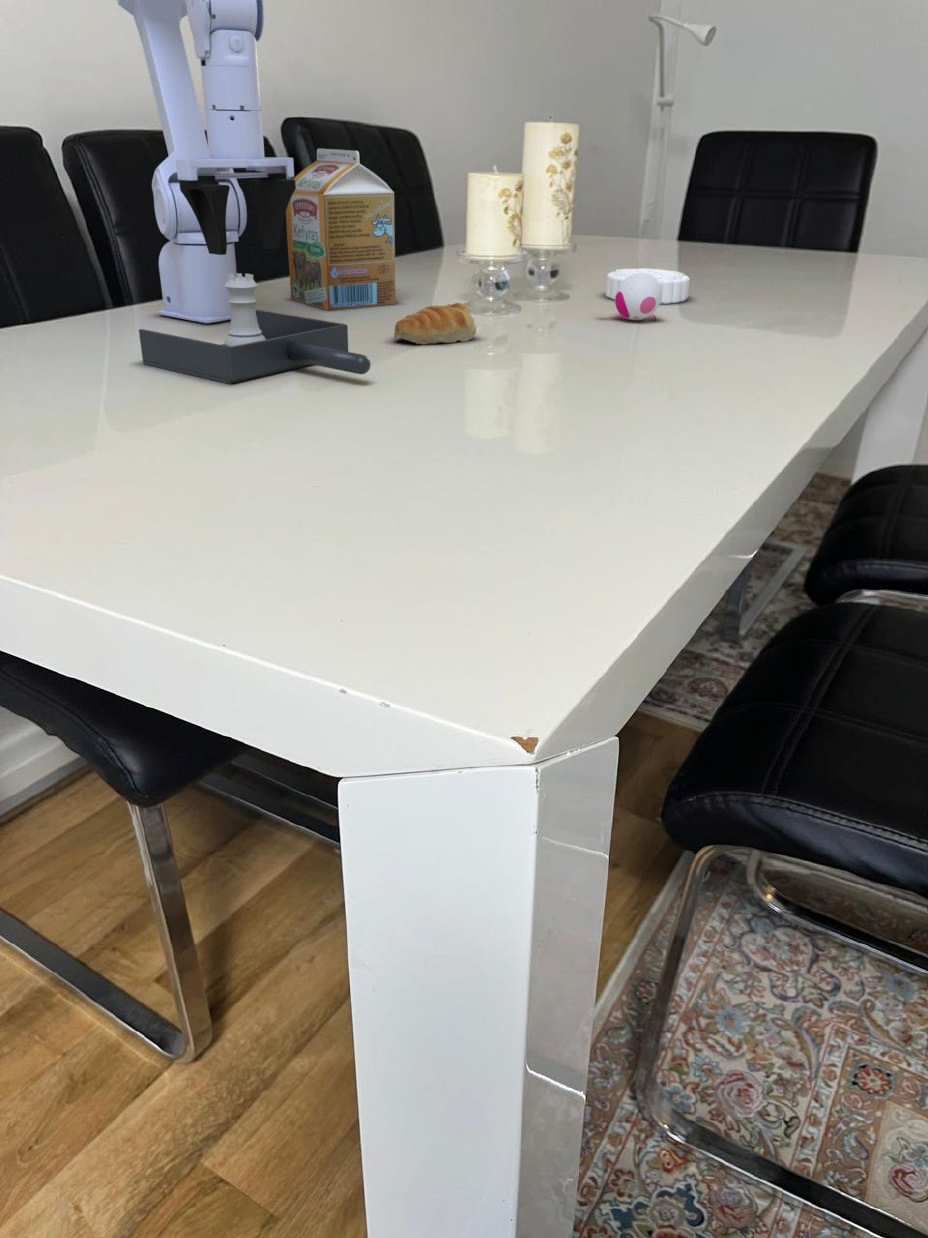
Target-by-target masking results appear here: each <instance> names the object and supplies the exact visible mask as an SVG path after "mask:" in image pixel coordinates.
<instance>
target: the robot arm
mask: <svg viewBox="0 0 928 1238" xmlns="http://www.w3.org/2000/svg"><path fill="white" fill-rule="evenodd" d="M116 1H117V5H118V6H120V7H121V8H122V9H123V10H125V11H126V12H127V13H128V14H130V15H132V17H133V19H134V22H135V26H136V29H137V32H138V35H139V39H140V42H141V45H142V46H141V47H142V49H143V53H144V57H145V58H144V59H145V62H146V66H147V70H148V74H149V80H150V83H151V87H152V91H153V96H154V99H155V103H156V108H157V112H158V116H159V117H158V118H159V120H160V121H159V122H160V125H161V130H162V133H163V137H164V142H165V145H166V150H167V154H168V156H167V157H166V158H165V159H164V160H163V161H161V163H159V165H158V166H157V167H156V168H155V170H154V172H153V177H152V181H151V190H152V194H153V204H154V205H153V207H154V214H155V219H156V223H157V226H158V229H159V231H160V233H161V234H162V235H163V236H164V237H165V238H166V239H167V240H168V242H166V243H165V244H163V247H162V248H161V250H160V253H159V256H158V270H159V278H160V279H159V280H160V288H161V295H162V302H163V303H162V304H163V309H161V310H158V315H160V316H165V317H171V318H176V319H182V320H186V321H191V322H198V323H201V324H212V323H219V322H225V321H231V304H230V303H229V302H228V300H229V299H230V292H229V291H228V290H227V288H226V287H225V284H226V282H227V280H228V276H227V275H229V274H234V276H235V278H237V274H238V272H237V261H236V251H235V250H236V249H235V243H237V242H239V237H241V236H242V234H243V232H244V231H245V229H246V226H247V222H248V211H247V203H246V199H245V195H244V192H243V190H242V188H241V187H240V185H239V182H238V179H248V182H247V185H248V187H249V190H250V192H251V196H252V199H253V203H254V206H255V212H256V218H257V226H258V227H257V228H258V235H259V241H260V245H261V248H262V249H269V250H279V247H280V241H281V237H282V236H281V234H282V229H283V225H284V221H285V217H286V209H287V207H288V204H289V201H290V199H291V197H292V195H293V193H294V191H295V189H296V183H295V179H294V178H295V167H294V166H295V165H294V158H293V157H283V156H278V157H276V156H274V157H273V156H272V157H270V156H269V157H267V156H265V145H264V143H265V142H264V130H263V129H264V128H263V118H262V117H263V116H262V115H263V114H262V101H261V88H260V86H261V85H260V71H259V55H258V42H259V41H260V39H261V38H262V34H263V31H264V25H265V4H264V0H116ZM184 17H187V19H188V23H189V27H190V32H191V34H192V38H193V46H194V47H193V48H194V53H195V58H196V59H199V61H200V70H201V71H200V72H201V82H202V92H203V104H204V117H205V126H206V133H205V127H204V124H203V119H202V114H201V109H200V107H199V103H198V98H197V95H196V89H195V86H194V82H193V78H192V77H193V76H192V73H191V68H190V64H189V61H188V56H187V51H186V48H185V43H184V39H183V34H182V31H181V27H180V25H181V20H182V19H183V18H184ZM234 169H245V171H250V172H235V171H234ZM251 178H252V179H251ZM255 178H257V179H255ZM249 179H250V180H249Z"/></svg>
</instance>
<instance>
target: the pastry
mask: <svg viewBox="0 0 928 1238" xmlns="http://www.w3.org/2000/svg"><path fill="white" fill-rule="evenodd" d="M476 333H477V326H476V323H475V319H474V318H473V316H472V315H471V310H470V308H469V307H468V306H467V305H465V304H464V303H461V302H455V303H452V304H450V303H448V304H447V305H429V306H427V307H424V308H421V309H420V310H417V312H415V313H412V314H408V315H406V316H405V317H404V318H402V319H400V320H398V321H397V322H396V323H395V325H394V333H393V336H394V338H395V339H396V338H399V339H403V340H405V341H408V342H411V343H415V344H416V345H418V344H420V345H422V346H423V345H424V346H425V345H427V344H439V343H445V344H449V343H456V342H457V341H460V342H468V341H470V340H472V339H474V336H475V334H476Z"/></svg>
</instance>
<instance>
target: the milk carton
mask: <svg viewBox="0 0 928 1238" xmlns="http://www.w3.org/2000/svg"><path fill="white" fill-rule="evenodd" d="M293 179H295V183H296V189H295V191H294V193H293V195H292V197H291V199H290V201H289V204H288V207H287V209H286V213H285V220H286V222H285V223H286V235H287V238H286V239H287V253H288V255H287V256H288V269H289V285H290V299H291V300H292V301H296V302H298V303H303V304H304V305H305V304H306V305H310V306H312V307H316V308H319V309H322V310H325V311H327V312H328V311H337V310H348V309H349V310H350V309H359V308H369V307H378V306H387V305H390V306H391V305H396V247H395V246H396V243H395V242H396V241H395V240H396V239H395V235H396V233H395V230H396V229H395V192H394V190H392V188H390V186H389V185H388V184H387V182H385V181H384V180H383V179H382V178H381V177H380V176H378V175H377V174H376V173H375V172H374V171H371V170H370V169H369V168H367V167H366V166H364V165H363V164H361V163H360V152H359V151H358V150H350V149H349V150H347V149H333V148H317V149H316V160H315V161H314V162H312V163H311V164H310V165H308V166H306V167H305V168H304V169H302V171H300V172H299V173H298V174H297V175H295V176H294V177H293Z"/></svg>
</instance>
